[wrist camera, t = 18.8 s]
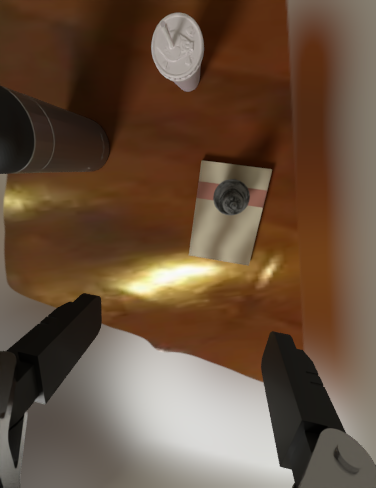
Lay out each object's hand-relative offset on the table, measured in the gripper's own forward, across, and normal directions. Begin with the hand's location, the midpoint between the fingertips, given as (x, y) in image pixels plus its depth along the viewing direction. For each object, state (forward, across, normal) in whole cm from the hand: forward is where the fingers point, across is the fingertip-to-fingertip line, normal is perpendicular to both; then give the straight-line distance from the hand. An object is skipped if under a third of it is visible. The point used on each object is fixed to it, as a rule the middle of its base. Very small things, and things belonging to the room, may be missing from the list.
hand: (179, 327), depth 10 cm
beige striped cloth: (+33, -3, +1) cm, 33 cm away
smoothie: (+33, +7, -20) cm, 39 cm away
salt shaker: (+32, -3, -3) cm, 32 cm away
